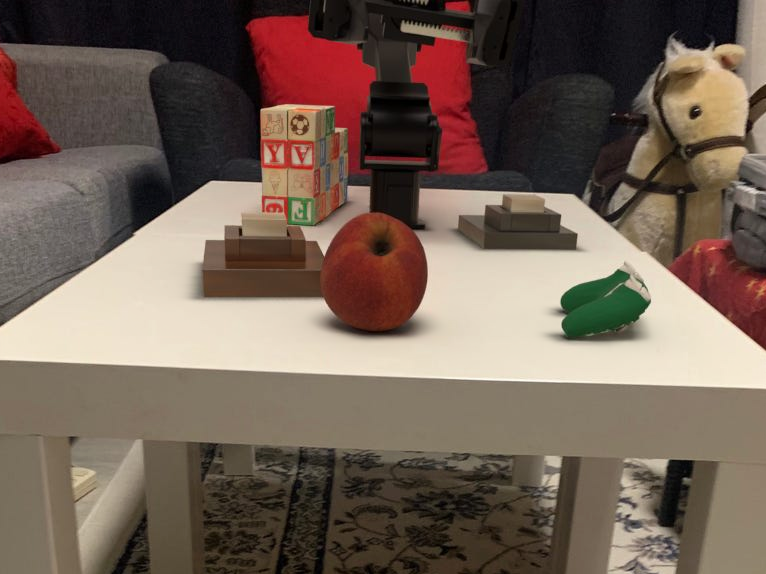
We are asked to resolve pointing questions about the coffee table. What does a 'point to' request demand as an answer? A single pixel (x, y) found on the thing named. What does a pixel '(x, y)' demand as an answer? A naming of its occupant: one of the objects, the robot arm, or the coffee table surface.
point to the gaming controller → (605, 303)
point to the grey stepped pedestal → (517, 230)
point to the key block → (262, 265)
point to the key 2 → (523, 203)
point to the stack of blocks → (303, 162)
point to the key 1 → (263, 224)
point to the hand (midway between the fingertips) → (421, 42)
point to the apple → (374, 273)
